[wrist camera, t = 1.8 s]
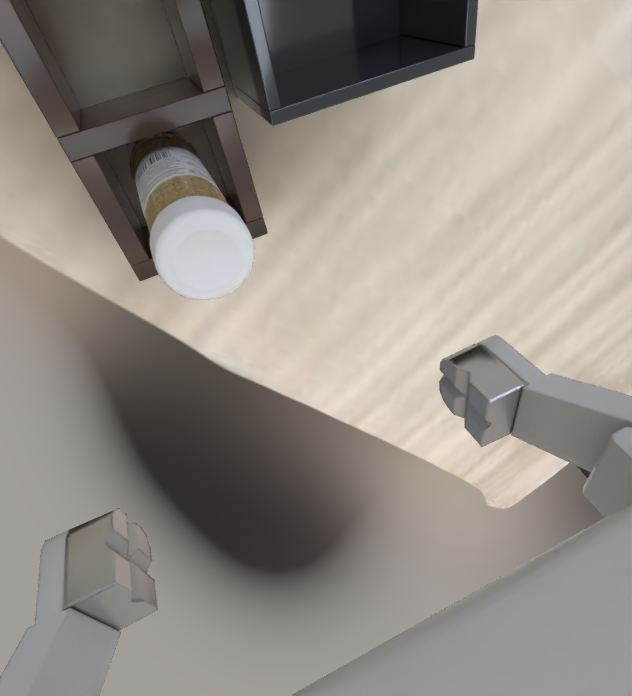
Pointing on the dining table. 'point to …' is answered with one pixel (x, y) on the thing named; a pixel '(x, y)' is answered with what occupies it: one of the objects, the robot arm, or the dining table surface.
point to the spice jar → (189, 220)
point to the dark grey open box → (336, 48)
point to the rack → (135, 120)
